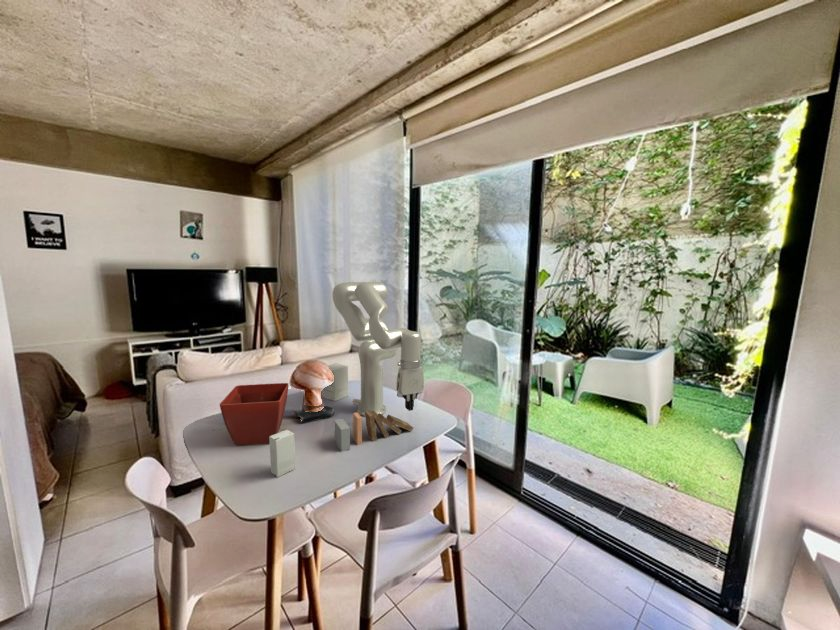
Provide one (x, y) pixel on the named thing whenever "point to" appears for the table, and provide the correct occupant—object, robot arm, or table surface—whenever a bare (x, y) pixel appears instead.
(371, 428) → the domino
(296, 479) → the table surface
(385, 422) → the domino
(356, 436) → the domino end
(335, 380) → the supplement box
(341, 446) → the block
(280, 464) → the skincare box
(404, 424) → the domino
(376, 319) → the robot arm
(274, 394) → the plant pot
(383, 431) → the domino
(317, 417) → the electronic device
